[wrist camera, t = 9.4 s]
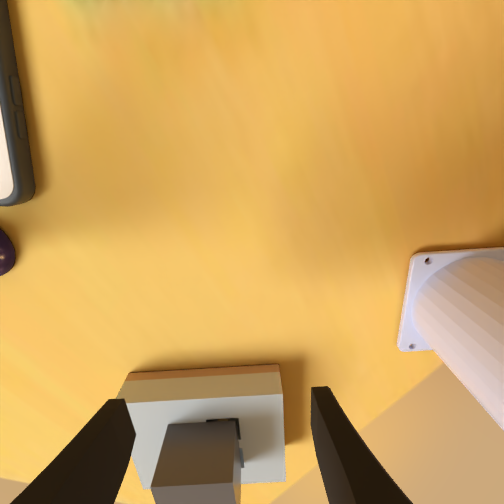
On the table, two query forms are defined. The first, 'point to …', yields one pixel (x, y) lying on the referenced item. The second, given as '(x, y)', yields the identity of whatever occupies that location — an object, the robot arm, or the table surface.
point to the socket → (210, 414)
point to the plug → (199, 464)
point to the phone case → (12, 124)
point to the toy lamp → (6, 253)
